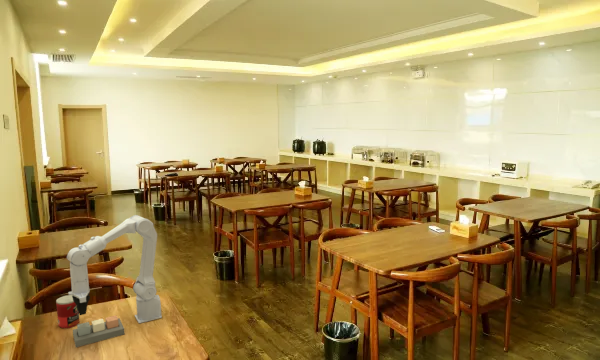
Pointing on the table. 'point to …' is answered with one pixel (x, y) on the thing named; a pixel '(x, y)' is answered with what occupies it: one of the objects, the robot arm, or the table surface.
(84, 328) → the key slate
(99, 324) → the key ivory
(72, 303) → the canned food
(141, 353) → the table surface
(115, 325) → the key terracotta
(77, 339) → the keypad base
